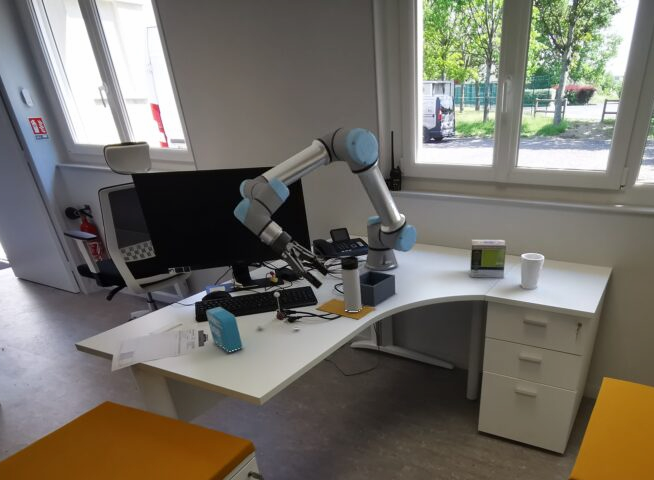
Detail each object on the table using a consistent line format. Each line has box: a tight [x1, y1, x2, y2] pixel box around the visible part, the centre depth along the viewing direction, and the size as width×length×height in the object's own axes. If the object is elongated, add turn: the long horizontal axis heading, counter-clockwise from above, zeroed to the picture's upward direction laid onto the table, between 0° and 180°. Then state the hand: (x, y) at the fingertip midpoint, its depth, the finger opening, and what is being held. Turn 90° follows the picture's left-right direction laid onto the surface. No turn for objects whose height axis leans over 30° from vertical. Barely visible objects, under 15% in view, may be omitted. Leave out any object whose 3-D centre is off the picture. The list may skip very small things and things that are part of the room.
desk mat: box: [315, 298, 376, 321], centre depth 174 cm, size 20×11×1 cm, turn 61°
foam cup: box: [520, 252, 545, 290], centre depth 191 cm, size 10×9×13 cm
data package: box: [205, 306, 243, 354], centre depth 145 cm, size 12×4×12 cm, turn 45°
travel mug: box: [340, 255, 362, 314], centre depth 167 cm, size 6×7×20 cm
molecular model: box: [256, 291, 301, 332], centre depth 158 cm, size 13×15×13 cm
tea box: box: [469, 239, 507, 278], centre depth 204 cm, size 15×10×15 cm
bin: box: [359, 269, 396, 308], centre depth 183 cm, size 13×16×8 cm
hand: (323, 280), depth 166 cm, fingers open, 13 cm apart
